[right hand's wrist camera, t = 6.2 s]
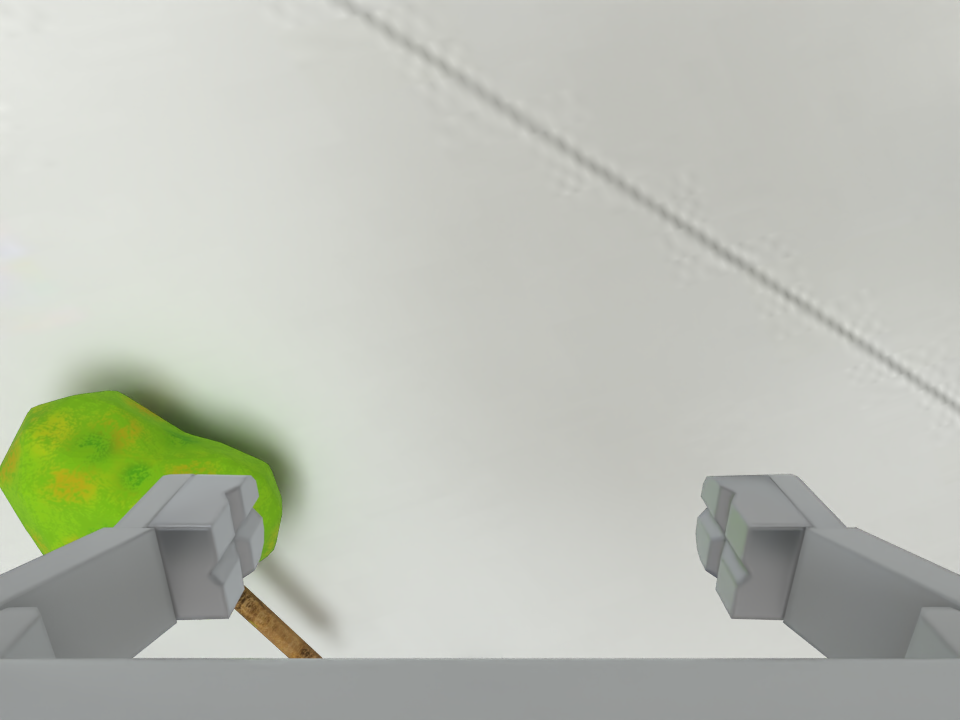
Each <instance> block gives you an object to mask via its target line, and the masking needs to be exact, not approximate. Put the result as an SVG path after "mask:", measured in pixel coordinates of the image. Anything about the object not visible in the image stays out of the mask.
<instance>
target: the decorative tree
mask: <svg viewBox="0 0 960 720" xmlns="http://www.w3.org/2000/svg"><path fill="white" fill-rule="evenodd" d="M170 474H195V475H197V474H206V475H251V476H252V477H253V478H254V479H255V480H256V483H257V488H258V493H259V497H258V499H257V501H256V502H255V504H254V506H253V508H254V509H255V510H256V511H257V512H258V513H259V514H260V516H261V517H262V518H263V525H264V544H263V549H262V553H261V558H260V560H259V562H260V561H261V560H263V559H264V558H266V557H267V556H268V555H269V554H270V553H271V552H272V551H273V550H274V547H275V545H276V541H277V536H278V531H279V526H280V521H281V516H282V498H281V494H280V492H279V489H278V486H277V484H276V481H275V478H274V476H273V473H272V470H271V468H270V467H269V465H268V464H267V463H265V462H264V461H262V460H259V459H257V458H255V457H253V456H250V455H248V454H246V453H244V452H241V451H239V450H237V449H235V448H232V447H230V446H228V445H225V444H223V443H221V442H217V441H213V440H210V439H206V438H202V437H198V436H194V435H191V434H188V433H185V432H183V431H182V430H180V429H179V428H177V427H175V426H174V425H172V424H170V423H169V422H167V421H166V420H164V419H162V418H161V417H159V416H158V415H156V414H154V413H153V412H151V411H150V410H148V409H146V408H145V407H143V406H142V405H140V404H139V403H137V402H135V401H134V400H132V399H131V398H129V397H127V396H126V395H124V394H122V393H120V392H118V391H101V392H93V393H85V394H78V395H73V396H69V397H65V398H62V399H58V400H55V401H51V402H48V403H44V404H41V405H38V406H36V407H33V408H31V409H30V411H29V412H28V413H27V415H26V417H25V419H24V421H23V423H22V425H21V427H20V429H19V430H18V432H17V434H16V436H15V438H14V440H13V442H12V444H11V446H10V448H9V450H8V452H7V454H6V456H5V458H4V460H3V462H2V464H1V466H0V488H1V490H2V491H3V493H4V494H5V496H6V498H7V499H8V501H9V503H10V504H11V506H12V508H13V509H14V511H15V513H16V514H17V516H18V518H19V519H20V521H21V522H22V524H23V526H24V527H25V529H26V530H27V532H28V533H29V535H30V536H31V537H32V539H33V541H34V542H35V543H36V545H37V546H38V548H39V549H40V551H41V552H42V554H43V555H45V554H47V553H49V552H51V551H54V550H56V549H58V548H60V547H62V546H65V545H67V544H69V543H71V542H73V541H76V540H78V539H80V538H82V537H84V536H86V535H89V534H91V533H93V532H95V531H97V530H100V529H102V528H113V527H114V526H115V525H116V524H117V523H118V522H119V521H120V520H121V519H122V518H123V517H124V516H125V515H126V514H127V513H128V512H129V510H130V509H131V508H132V507H133V506H134V505H135V504H136V503H137V502H138V501H139V500H140V499H141V498H142V497H143V496H144V495H145V494H146V493H147V492H148V491H149V490H150V489H151V488H152V487H153V486H154V485H155V484H156V483H157V481H158V480H159V479H160V478H161V477H162V476H165V475H170ZM259 562H258V563H259ZM234 609H235V610H236V611H237V612H239V613H240V614H241V615H242V616H243V617H244V618H245V619H246V620H247V621H249V622H250V623H251V624H252V625H253V626H254V627H255V628H256V629H257V630H258V631H260V632H261V633H262V634H263V635H264V636H265V637H266V638H267V639H268V640H270V641H271V642H272V643H273V644H274V645H275V646H276V647H277V648H278V649H279V650H281V651H282V652H283V653H284V654H285V655H286V656H287V657H288V658H322V657H321V656H320V655H319V654H318V653H316V652H315V651H314V650H313V649H312V648H311V647H310V646H309V645H308V644H307V643H306V642H305V641H304V640H302V639H301V638H300V637H299V636H298V635H297V634H296V633H295V632H294V631H293V630H292V629H291V628H290V627H289V626H287V625H286V624H285V623H284V622H283V621H282V620H281V619H280V618H279V617H278V616H277V615H276V614H275V613H273V612H272V611H271V610H270V609H269V608H268V607H267V606H266V605H265V604H264V603H263V602H262V601H261V600H259V599H258V598H257V597H256V596H255V595H254V594H253V593H252V592H251V591H250V590H249V589H248V588H247V587H246V586H244V591H243V593H242V595H241V597H240V599H239V600H238V602H237V604H236V606H235V608H234Z"/></svg>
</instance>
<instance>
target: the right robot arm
mask: <svg viewBox="0 0 960 720" xmlns="http://www.w3.org/2000/svg"><path fill="white" fill-rule="evenodd" d="M258 497H259V493H258V488H257V483H256V480H255V479H254V478H253V477H252V476H251V475H206V474H197V475H195V474H170V475H165V476H162V477H161V478H160V479H159V480H158V481H157V483H156V484H155V485H154V486H153V487H152V488H151V489H150V490H149V491H148V492H147V493H146V494H145V495H144V496H143V497H142V498H141V499H140V500H139V501H138V502H137V503H136V504H135V505H134V506H133V507H132V508H131V509H130V510H129V512H128V513H127V514H126V515H125V516H124V517H123V518H122V519H121V520H120V521H119V522H118V523H117V524H116V525H115V526H114V527H113V528H102V529H100V530H97V531H95V532H93V533H91V534H89V535H86V536H84V537H82V538H80V539H78V540H76V541H73V542H71V543H69V544H67V545H65V546H62V547H60V548H58V549H56V550H54V551H51V552H49V553H47V554H45V555H43V556H41V557H38V558H36V559H34V560H32V561H30V562H27V563H25V564H23V565H21V566H19V567H16V568H14V569H12V570H10V571H8V572H6V573H3V574H1V575H0V720H960V575H959V574H956V573H954V572H952V571H950V570H948V569H945V568H943V567H941V566H939V565H937V564H935V563H932V562H930V561H928V560H926V559H924V558H921V557H919V556H917V555H915V554H913V553H911V552H908V551H906V550H904V549H902V548H900V547H898V546H895V545H893V544H891V543H889V542H887V541H884V540H882V539H880V538H878V537H876V536H874V535H871V534H869V533H867V532H865V531H863V530H860V529H858V528H847V527H846V526H845V525H844V524H843V523H842V522H841V521H840V520H839V519H838V518H837V517H836V516H835V515H834V514H833V512H832V511H831V510H830V509H829V508H828V507H827V506H826V505H825V504H824V503H823V502H822V501H821V500H820V499H819V498H818V497H817V496H816V495H815V494H814V493H813V492H812V491H811V490H810V489H809V488H808V487H807V485H806V484H805V483H804V482H803V481H802V480H801V479H800V478H799V477H798V476H795V475H793V474H770V475H738V476H707V477H706V479H705V481H704V483H703V487H702V493H701V497H702V499H703V501H704V502H705V504H706V506H707V508H706V509H705V510H704V511H703V512H702V513H701V514H700V515H699V517H698V518H697V526H696V543H697V550H698V554H699V557H700V560H701V562H702V564H703V566H704V568H705V570H706V571H707V572H709V573H710V574H712V575H713V576H715V577H716V578H717V583H716V591H717V593H718V595H719V597H720V599H721V600H722V602H723V604H724V606H725V608H726V610H727V611H728V613H729V615H730V617H731V619H762V620H783V623H784V624H786V625H787V626H788V627H789V628H791V629H792V630H793V631H794V632H796V633H797V634H798V635H799V636H801V637H802V638H803V639H804V640H806V641H807V642H808V643H809V644H811V645H812V646H813V647H814V648H816V649H817V650H818V651H819V652H821V653H822V654H823V655H824V656H826V657H827V658H133V657H134V656H136V655H137V654H138V653H139V652H141V651H142V650H143V649H144V648H146V647H147V646H148V645H149V644H151V643H152V642H153V641H155V640H156V639H157V638H158V637H160V636H161V635H162V634H163V633H165V632H166V631H167V630H168V629H170V628H171V627H172V626H173V625H175V624H176V623H177V621H176V620H197V619H229V617H230V615H231V613H232V612H233V610H234V608H235V606H236V604H237V602H238V600H239V599H240V597H241V595H242V593H243V591H244V583H243V578H244V577H245V576H247V575H248V574H250V573H251V572H253V571H254V570H255V568H256V566H257V564H258V562H259V560H260V558H261V553H262V549H263V544H264V525H263V518H262V517H261V516H260V514H259V513H258V512H257V511H256V510H255V509H254V508H253V506H254V504H255V502H256V501H257V499H258Z"/></svg>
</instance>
